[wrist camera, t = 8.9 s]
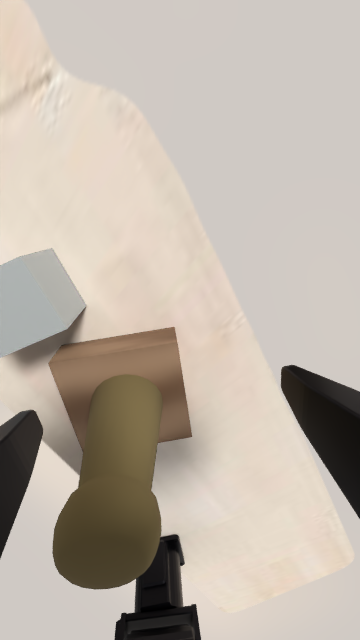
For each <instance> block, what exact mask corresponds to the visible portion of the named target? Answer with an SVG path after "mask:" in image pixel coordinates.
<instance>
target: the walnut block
mask: <svg viewBox="0 0 360 640" xmlns="http://www.w3.org/2000/svg"><path fill="white" fill-rule="evenodd" d="M48 364H49V367H50V369H51V372H52V374H53V377H54V380H55V382H56V385H57V387H58V390H59V392H60V395H61V397H62V400H63V402H64V405H65V408H66V410H67V413H68V415H69V418H70V420H71V423H72V425H73V428H74V430H75V433H76V436H77V438H78V441H79V443H80V446H81V448H82V451H83V452H84V445H85V438H86V432H87V425H88V418H89V411H90V405H91V398H92V395H93V393H94V391H95V389H96V388H97V387H98V386H99V385H100V384H101V383H102V382H103V381H105V380H107V379H109V378H111V377H113V376H118V375H124V374H129V375H138V376H141V377H143V378H145V379H148V380H149V381H151V382H152V383H153V384H154V385H156V386H157V388H158V389H159V391H160V393H161V394H162V399H163V409H162V416H161V423H160V430H159V437H158V443H161V442H166V441H172V440H177V439H183V438H188V437H192V433H191V427H190V420H189V414H188V407H187V401H186V395H185V388H184V382H183V375H182V369H181V363H180V356H179V350H178V344H177V338H176V333H175V328H174V327H171V328H165V329H159V330H153V331H147V332H141V333H134V334H128V335H122V336H116V337H110V338H104V339H98V340H92V341H86V342H79V343H73V344H67V345H62V346H61V347H60V348H59V350H58V351H57V352H56V354H55V355H54V356H53V358H52V359H51V360H50V362H49V363H48Z"/></svg>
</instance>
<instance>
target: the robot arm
mask: <svg viewBox="0 0 360 640" xmlns="http://www.w3.org/2000/svg"><path fill="white" fill-rule="evenodd" d="M281 388H282V391H283V393H284V395H285V397H286V399H287V401H288V403H289V405H290V407H291V409H292V411H293V413H294V415H295V417H296V419H297V421H298V423H299V425H300V427H301V428H302V430H303V432H304V433H305V435H306V437H307V438H308V439H309V441H310V443H311V444H312V446H313V447H314V449H315V451H316V452H317V453H318V455H319V457H320V458H321V460H322V461H323V463H324V464H325V466H326V467H327V469H328V470H329V472H330V474H331V475H332V477H333V478H334V480H335V481H336V483H337V484H338V486H339V488H340V489H341V491H342V492H343V494H344V495H345V497H346V498H347V500H348V501H349V503H350V505H351V506H352V508H353V509H354V511H355V512H356V514H357V515H358V517H359V518H360V392H359V391H357V390H354V389H352V388H350V387H347V386H345V385H342V384H340V383H337V382H334V381H332V380H330V379H327V378H325V377H322V376H320V375H317V374H315V373H312V372H310V371H307V370H305V369H303V368H300V367H297V366H295V365H289V366H284V367H282V370H281ZM42 435H43V427H42V425H41V422H40V420H39V418H38V416H37V414H36V412H35V411H34V410H28V411H22V412H20V413H18V414H17V415H15V416H14V417H13V418H11V419H10V420H9V421H7V422H6V423H4V424H3V425H1V426H0V558H1V555H2V552H3V550H4V547H5V545H6V542H7V539H8V536H9V534H10V531H11V529H12V526H13V523H14V521H15V518H16V516H17V513H18V510H19V508H20V505H21V502H22V500H23V497H24V494H25V492H26V489H27V487H28V484H29V481H30V478H31V474H32V471H33V468H34V464H35V460H36V457H37V453H38V450H39V446H40V442H41V439H42ZM184 564H185V562H184V556H183V552H182V548H181V543H180V539H179V536H177V535H174V536H169V537H164V538H160V541H159V546H158V549H157V553H156V555H155V557H154V559H153V561H152V563H151V565H150V566H149V568H148V569H147V570H146V571H145V572H144V573H143V574H142V575H140V576H139V577H138V578H136V595H135V613H129V614H126V613H122V614H121V619H120V620H119V621H117V622H116V630H115V640H201V636H200V629H199V623H198V615H197V608H196V604H192V605H191V606H185V607H183V597H182V584H181V571H180V566H183V565H184Z"/></svg>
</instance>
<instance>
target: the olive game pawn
mask: <svg viewBox="0 0 360 640" xmlns="http://www.w3.org/2000/svg"><path fill="white" fill-rule="evenodd" d="M162 409H163V399H162V394H161V393H160V391H159V389H158V388H157V386H156V385H154V384H153V383H152V382H151V381H149V380H148V379H145V378H143V377H141V376H138V375H129V374H124V375H118V376H113V377H111V378H109V379H107V380H105V381H103V382H102V383H101V384H100V385H99V386H98V387H97V388H96V389H95V391H94V393H93V395H92V398H91V405H90V411H89V418H88V425H87V432H86V438H85V445H84V452H83V459H82V466H81V472H80V480H79V486H78V489H77V490H75V492H73V493H72V494H71V496H70V497H69V499H68V501H67V502H66V504H65V506H64V508H63V509H62V511H61V513H60V515H59V517H58V520H57V523H56V526H55V529H54V539H53V557H54V562H55V566H56V568H57V570H58V572H59V573H60V574H61V575H62V576H63V577H64V578H66V579H67V580H68V581H69V582H71V583H72V584H75V585H77V586H80V587H83V588H89V589H109V588H115V587H119V586H122V585H125V584H127V583H130V582H131V581H133V580H134V579H136V578H138V577H139V576H140V575H142V574H143V573H144V572H145V571H146V570H147V569H148V568H149V566H150V565H151V563H152V561H153V559H154V557H155V555H156V553H157V549H158V546H159V541H160V536H161V516H160V511H159V507H158V503H157V499H156V496H155V495H154V494H153V493H152V491H151V488H152V481H153V473H154V466H155V459H156V452H157V445H158V437H159V430H160V423H161V416H162Z"/></svg>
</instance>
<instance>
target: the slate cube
mask: <svg viewBox="0 0 360 640" xmlns="http://www.w3.org/2000/svg"><path fill="white" fill-rule="evenodd" d="M85 307H86V304H85V302H84V300H83V299H82V297H81V295H80V294H79V292H78V290H77V289H76V287H75V285H74V284H73V282H72V280H71V279H70V277H69V275H68V274H67V272H66V270H65V268H64V267H63V265H62V263H61V262H60V260H59V258H58V257H57V255H56V253H55V252H54V250H53V248H51V249H47V250H43V251H39V252H35V253H32V254H28V255H24V256H20V257H18V258H16V259H13V260H11V261H9V262H7V263H5V264H2V265H0V358H1V357H3V356H6V355H8V354H10V353H13V352H15V351H17V350H20V349H22V348H24V347H27V346H29V345H31V344H34V343H36V342H38V341H41V340H43V339H45V338H48V337H50V336H52V335H55V334H57V333H59V332H62V331H64V330H66V329H68V328H69V326H70V325H71V324H72V323H73V321H74V320H75V319H76V318H77V317H78V315H79V314H80V313H81V312H82V310H83V309H84V308H85Z"/></svg>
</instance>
